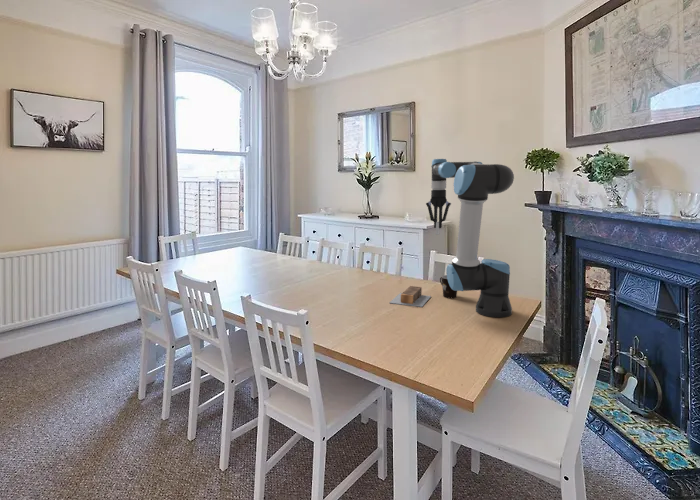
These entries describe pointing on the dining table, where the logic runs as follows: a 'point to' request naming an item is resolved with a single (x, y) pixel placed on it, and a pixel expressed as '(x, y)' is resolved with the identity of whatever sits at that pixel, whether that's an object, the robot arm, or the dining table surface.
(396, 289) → the dining table surface
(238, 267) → the dining table surface
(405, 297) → the walnut block
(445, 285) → the coffee mug
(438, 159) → the robot arm
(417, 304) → the rubber mat
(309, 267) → the dining table surface
